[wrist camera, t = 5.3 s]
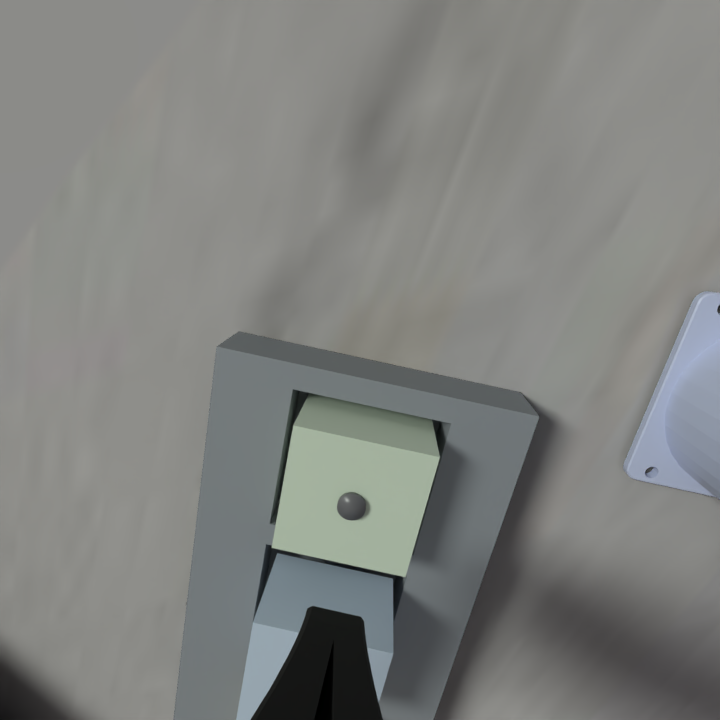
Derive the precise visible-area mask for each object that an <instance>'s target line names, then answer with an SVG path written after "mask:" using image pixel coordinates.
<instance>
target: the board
mask: <svg viewBox="0 0 720 720" xmlns="http://www.w3.org/2000/svg"><path fill="white" fill-rule="evenodd" d="M309 393H313V394H317V395H322V396H326V397H331V398H336V399H340V400H345V401H349V402H354V403H359V404H363V405H368V406H372V407H377V408H382V409H386V410H391V411H395V412H400V413H405V414H409V415H414V416H418V417H423V418H428V419H432V422H433V427H434V432H435V436H436V441H437V446H438V450H439V455H440V459H439V462H438V466H437V469H436V473H435V476H434V480H433V483H432V487H431V490H430V494H429V497H428V500H427V504H426V507H425V511H424V514H423V518H422V521H421V525H420V528H419V532H418V535H417V539H416V542H415V546H414V549H413V553H412V556H411V560H410V563H409V567H408V570H407V573H406V577H402V576H398V575H393V574H389V573H384V572H379V571H375V570H370V569H366V568H361V567H357V566H352V565H348V564H343V563H338V562H334V561H329V560H325V559H320V558H316V557H311V556H307V555H302V554H297V553H293V552H288V551H284V550H279V549H275V548H272V543H273V537H274V531H275V526H276V520H277V514H278V509H279V503H280V497H281V492H282V486H283V480H284V475H285V469H286V463H287V458H288V452H289V447H290V441H291V435H292V430H293V425H294V423H295V421H296V419H297V417H298V415H299V413H300V411H301V409H302V407H303V405H304V403H305V401H306V399H307V397H308V395H309ZM539 417H540V416H539V415H538V414H537V413H536V411H535V410H534V409H533V408H532V406H531V405H530V404H529V402H528V401H527V400H526V399H525V397H524V396H523V395H522V394H521V392H516V391H511V390H507V389H502V388H498V387H493V386H488V385H484V384H479V383H474V382H470V381H465V380H461V379H456V378H451V377H447V376H442V375H438V374H433V373H428V372H424V371H419V370H414V369H410V368H405V367H401V366H396V365H391V364H387V363H382V362H377V361H373V360H368V359H364V358H359V357H354V356H350V355H345V354H341V353H336V352H331V351H327V350H322V349H317V348H313V347H308V346H304V345H299V344H294V343H290V342H285V341H280V340H276V339H271V338H267V337H262V336H257V335H253V334H248V333H244V332H237V333H236V334H234V335H233V336H232V337H230V338H229V339H227V340H226V341H224V342H223V343H221V344H220V345H218V346H217V348H216V357H215V365H214V374H213V383H212V391H211V400H210V409H209V417H208V426H207V434H206V443H205V452H204V460H203V469H202V478H201V486H200V495H199V503H198V512H197V521H196V529H195V538H194V547H193V555H192V564H191V572H190V581H189V590H188V598H187V607H186V616H185V624H184V633H183V641H182V650H181V659H180V667H179V676H178V684H177V693H176V702H175V710H174V719H173V720H236V717H237V712H238V706H239V700H240V694H241V688H242V683H243V677H244V671H245V665H246V659H247V654H248V648H249V642H250V636H251V630H252V625H253V621H254V618H255V615H256V612H257V609H258V606H259V604H260V601H261V598H262V595H263V592H264V589H265V587H266V584H267V581H268V578H269V575H270V572H271V570H272V567H273V564H274V561H275V558H276V555H277V553H279V554H283V555H288V556H292V557H297V558H301V559H306V560H310V561H315V562H320V563H324V564H329V565H333V566H338V567H342V568H347V569H351V570H356V571H361V572H365V573H370V574H374V575H379V576H383V577H388V578H392V579H393V657H392V660H391V663H390V667H389V670H388V673H387V677H386V680H385V684H384V687H383V690H382V694H381V697H380V700H379V706H380V710H381V714H382V718H383V720H434V717H435V714H436V711H437V708H438V705H439V702H440V700H441V697H442V694H443V691H444V688H445V685H446V682H447V680H448V677H449V674H450V671H451V668H452V665H453V662H454V660H455V657H456V654H457V651H458V648H459V645H460V642H461V640H462V637H463V634H464V631H465V628H466V625H467V622H468V620H469V617H470V614H471V611H472V608H473V605H474V602H475V600H476V597H477V594H478V591H479V588H480V585H481V582H482V580H483V577H484V574H485V571H486V568H487V565H488V562H489V560H490V557H491V554H492V551H493V548H494V545H495V542H496V540H497V537H498V534H499V531H500V528H501V525H502V522H503V520H504V517H505V514H506V511H507V508H508V505H509V502H510V499H511V497H512V494H513V491H514V488H515V485H516V482H517V479H518V477H519V474H520V471H521V468H522V465H523V462H524V459H525V457H526V454H527V451H528V448H529V445H530V442H531V439H532V437H533V434H534V431H535V428H536V425H537V422H538V419H539Z"/></svg>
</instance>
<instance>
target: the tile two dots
mask: <svg viewBox="0 0 720 720" xmlns="http://www.w3.org/2000/svg"><path fill="white" fill-rule="evenodd" d="M311 606H316V607H320V608H325V609H329V610H333V611H338V612H342V613H347V614H351V615H356V616H360V617H362V619H363V620H364V625H365V635H366V643H367V650H368V656H369V661H370V666H371V671H372V676H373V681H374V685H375V690H376V694H377V698H378V702H379V700H380V697H381V694H382V690H383V687H384V684H385V680H386V677H387V673H388V670H389V667H390V663H391V660H392V657H393V579H392V578H388V577H383V576H379V575H374V574H370V573H365V572H361V571H356V570H351V569H347V568H342V567H338V566H333V565H329V564H324V563H320V562H315V561H310V560H306V559H301V558H297V557H292V556H288V555H283V554H279V553H277V555H276V558H275V561H274V564H273V567H272V570H271V572H270V575H269V578H268V581H267V584H266V587H265V589H264V592H263V595H262V598H261V601H260V604H259V606H258V609H257V612H256V615H255V618H254V621H253V625H252V630H251V636H250V642H249V648H248V654H247V659H246V665H245V671H244V677H243V683H242V688H241V694H240V700H239V706H238V712H237V717H236V720H251V718H252V716H253V715H254V713H255V712H256V710H257V708H258V707H259V705H260V704H261V702H262V700H263V699H264V697H265V696H266V694H267V693H268V691H269V689H270V688H271V686H272V684H273V682H274V680H275V679H276V677H277V675H278V673H279V671H280V670H281V668H282V666H283V664H284V662H285V660H286V659H287V657H288V655H289V653H290V651H291V649H292V647H293V645H294V642H295V640H296V638H297V636H298V634H299V631H300V629H301V626H302V624H303V621H304V618H305V615H306V611H307V608H309V607H311Z"/></svg>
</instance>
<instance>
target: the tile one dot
mask: <svg viewBox="0 0 720 720" xmlns="http://www.w3.org/2000/svg"><path fill="white" fill-rule="evenodd" d="M439 459H440V455H439V450H438V446H437V441H436V436H435V432H434V427H433V422H432V419H428V418H423V417H418V416H414V415H409V414H405V413H400V412H395V411H391V410H386V409H382V408H377V407H372V406H368V405H363V404H359V403H354V402H349V401H345V400H340V399H336V398H331V397H326V396H322V395H317V394H313V393H309V395H308V397H307V399H306V401H305V403H304V405H303V407H302V409H301V411H300V413H299V415H298V417H297V419H296V421H295V423H294V425H293V430H292V435H291V441H290V447H289V452H288V458H287V463H286V469H285V475H284V480H283V486H282V492H281V497H280V503H279V509H278V514H277V520H276V526H275V531H274V537H273V543H272V548H275V549H279V550H284V551H288V552H293V553H297V554H302V555H307V556H311V557H316V558H320V559H325V560H329V561H334V562H338V563H343V564H348V565H352V566H357V567H361V568H366V569H370V570H375V571H379V572H384V573H389V574H393V575H398V576H402V577H406V573H407V570H408V567H409V563H410V560H411V556H412V553H413V549H414V546H415V542H416V539H417V535H418V532H419V528H420V525H421V521H422V518H423V514H424V511H425V507H426V504H427V500H428V497H429V494H430V490H431V487H432V483H433V480H434V476H435V473H436V469H437V466H438V462H439Z"/></svg>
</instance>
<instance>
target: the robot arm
mask: <svg viewBox="0 0 720 720" xmlns="http://www.w3.org/2000/svg"><path fill="white" fill-rule="evenodd" d="M719 305H720V293H716V292H711V291H705V292H702V293H700V294H698V295H697V296H696V297H695V298H694V300H693V301H692V304H691V306H690V308H689V311H688V313H687V315H686V318H685V320H684V322H683V325H682V327H681V330H680V332H679V334H678V337H677V339H676V341H675V344H674V346H673V348H672V351H671V353H670V355H669V358H668V360H667V363H666V365H665V367H664V370H663V372H662V374H661V377H660V379H659V381H658V384H657V386H656V389H655V391H654V393H653V396H652V398H651V400H650V403H649V405H648V407H647V410H646V412H645V415H644V417H643V419H642V422H641V424H640V426H639V429H638V431H637V433H636V436H635V438H634V440H633V443H632V445H631V448H630V450H629V452H628V455H627V457H626V459H625V462H624V465H623V468H624V471H625V472H626V473H627V475H628V476H629V477H630V478H632V479H635V480H639V481H644V482H648V483H653V484H657V485H662V486H667V487H671V488H676V489H680V490H685V491H690V492H694V493H699V494H703V495H708V496H713V497H716V498H718V499H719V500H720V313H719V314H718V312H717V309H718V306H719ZM649 467H653V469H652V471H651V472H649V473H645V471H646V470H647V468H649ZM251 720H383V718H382V714H381V710H380V706H379V702H378V698H377V694H376V690H375V685H374V681H373V676H372V671H371V666H370V661H369V656H368V650H367V643H366V635H365V625H364V620H363V619H362V617H360V616H356V615H351V614H347V613H342V612H338V611H333V610H329V609H325V608H320V607H316V606H311V607H309V608H307V611H306V615H305V618H304V621H303V624H302V626H301V629H300V631H299V634H298V636H297V638H296V640H295V642H294V645H293V647H292V649H291V651H290V653H289V655H288V657H287V659H286V660H285V662H284V664H283V666H282V668H281V670H280V671H279V673H278V675H277V677H276V679H275V680H274V682H273V684H272V686H271V688H270V689H269V691H268V693H267V694H266V696H265V697H264V699H263V700H262V702H261V704H260V705H259V707H258V708H257V710H256V712H255V713H254V715H253V716H252V718H251Z"/></svg>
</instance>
